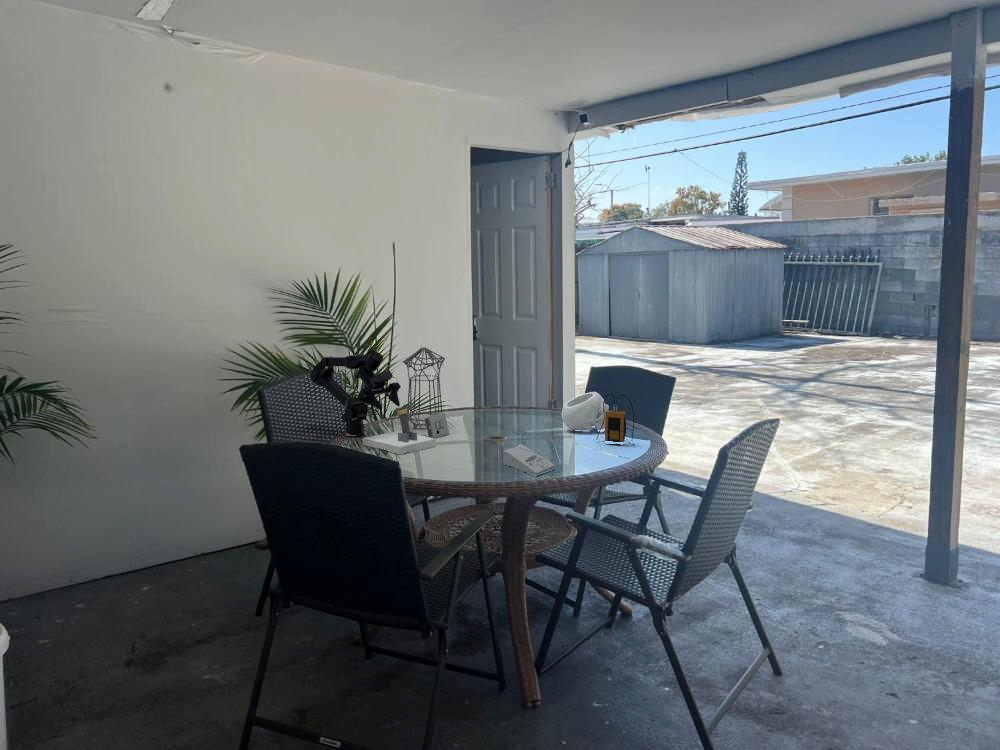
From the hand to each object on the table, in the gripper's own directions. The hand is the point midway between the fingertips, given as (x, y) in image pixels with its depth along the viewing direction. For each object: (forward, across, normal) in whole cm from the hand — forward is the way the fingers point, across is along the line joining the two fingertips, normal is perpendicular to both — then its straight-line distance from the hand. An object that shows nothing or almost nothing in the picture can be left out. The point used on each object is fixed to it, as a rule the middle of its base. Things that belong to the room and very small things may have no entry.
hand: (390, 407), depth 294 cm
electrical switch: (+13, +21, +8) cm, 26 cm away
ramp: (+57, +6, -30) cm, 65 cm away
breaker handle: (+15, -2, +1) cm, 16 cm away
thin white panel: (+14, -1, +7) cm, 16 cm away
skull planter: (+46, +67, -20) cm, 84 cm away
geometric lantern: (+1, +29, +18) cm, 34 cm away
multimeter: (+61, +56, -34) cm, 90 cm away
